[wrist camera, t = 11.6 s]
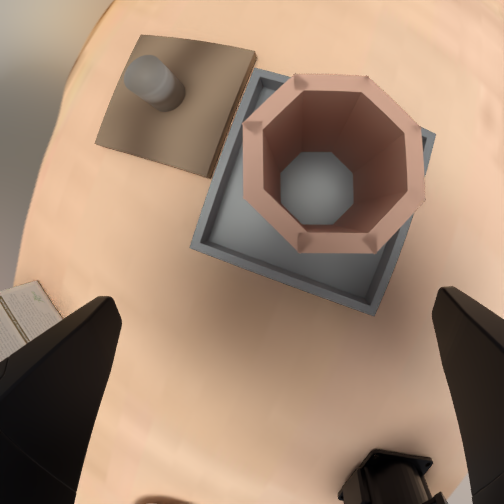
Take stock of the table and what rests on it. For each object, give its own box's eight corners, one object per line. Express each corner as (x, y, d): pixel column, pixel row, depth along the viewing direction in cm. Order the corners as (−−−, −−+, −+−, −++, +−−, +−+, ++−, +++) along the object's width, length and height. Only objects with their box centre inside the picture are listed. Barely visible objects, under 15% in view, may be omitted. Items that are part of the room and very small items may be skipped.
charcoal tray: (422, 141, 18) (435, 133, 16) (366, 305, 20) (374, 316, 18) (259, 82, 19) (254, 67, 17) (200, 244, 21) (189, 247, 19)
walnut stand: (256, 57, 19) (245, 19, 14) (210, 178, 20) (184, 167, 15) (146, 40, 20) (115, 9, 15) (101, 146, 21) (59, 133, 16)
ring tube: (250, 188, 20) (204, 161, 10) (315, 123, 19) (328, 43, 9) (332, 270, 19) (365, 323, 10) (396, 205, 18) (480, 197, 9)
